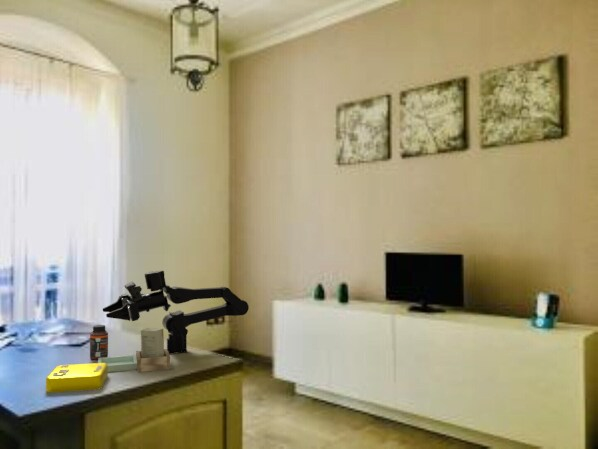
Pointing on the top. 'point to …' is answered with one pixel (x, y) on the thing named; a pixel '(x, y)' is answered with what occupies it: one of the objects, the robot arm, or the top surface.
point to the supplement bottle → (98, 342)
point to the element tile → (77, 377)
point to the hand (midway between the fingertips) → (104, 312)
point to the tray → (119, 362)
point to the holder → (152, 362)
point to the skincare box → (152, 343)
